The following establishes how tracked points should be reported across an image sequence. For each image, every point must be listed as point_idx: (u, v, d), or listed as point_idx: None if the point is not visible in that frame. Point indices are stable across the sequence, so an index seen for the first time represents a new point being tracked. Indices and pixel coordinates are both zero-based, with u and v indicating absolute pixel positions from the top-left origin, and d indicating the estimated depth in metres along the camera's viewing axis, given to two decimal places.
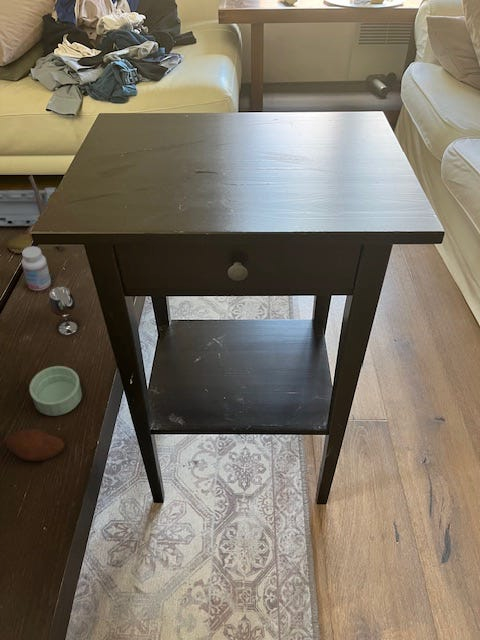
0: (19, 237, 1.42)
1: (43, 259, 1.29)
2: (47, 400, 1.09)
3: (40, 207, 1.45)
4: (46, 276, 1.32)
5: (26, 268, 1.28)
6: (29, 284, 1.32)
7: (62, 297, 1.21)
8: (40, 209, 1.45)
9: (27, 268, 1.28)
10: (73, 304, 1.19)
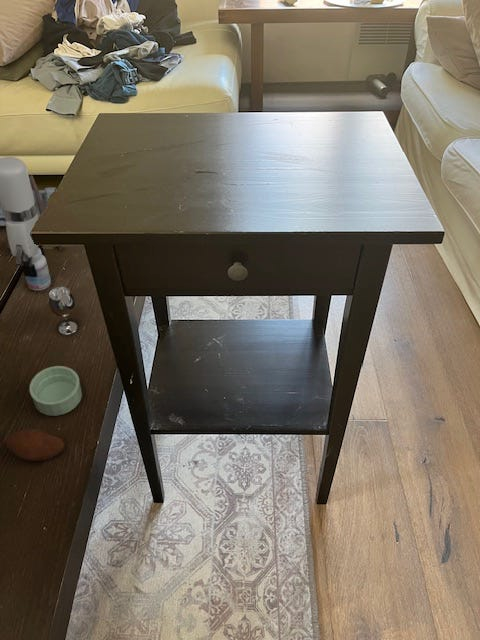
0: None
1: (43, 259, 1.29)
2: (47, 400, 1.09)
3: (40, 207, 1.45)
4: (46, 276, 1.32)
5: None
6: (29, 284, 1.32)
7: (62, 297, 1.21)
8: (40, 209, 1.45)
9: None
10: (73, 304, 1.19)
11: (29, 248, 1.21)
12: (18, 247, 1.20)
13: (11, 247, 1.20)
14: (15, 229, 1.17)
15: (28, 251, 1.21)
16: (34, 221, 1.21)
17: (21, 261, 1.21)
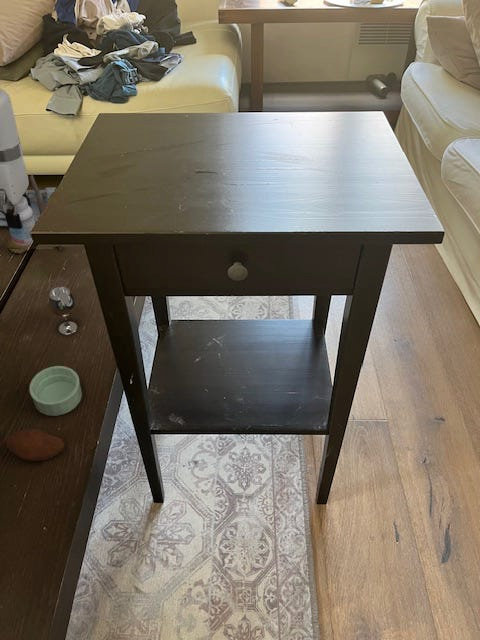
0: None
1: (29, 209, 1.18)
2: (47, 400, 1.09)
3: (40, 207, 1.45)
4: None
5: None
6: (14, 238, 1.21)
7: (62, 297, 1.21)
8: (40, 209, 1.45)
9: None
10: (73, 304, 1.19)
11: (13, 193, 1.10)
12: (1, 192, 1.09)
13: None
14: None
15: (12, 196, 1.10)
16: (19, 164, 1.10)
17: (4, 208, 1.09)
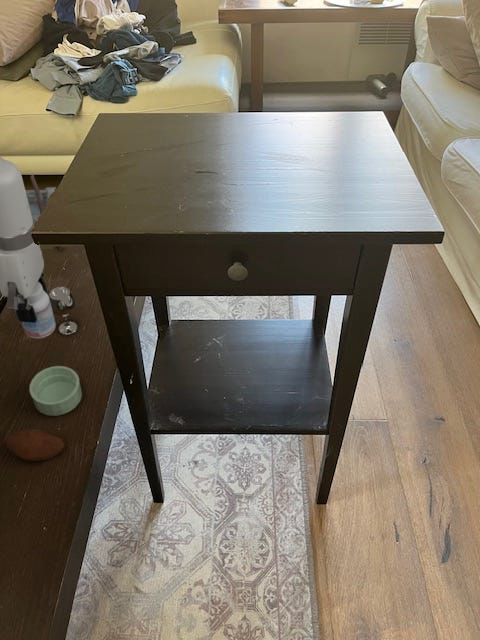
0: None
1: (45, 297, 0.95)
2: (47, 400, 1.09)
3: (41, 207, 1.45)
4: (49, 319, 0.97)
5: None
6: (26, 330, 0.98)
7: (62, 297, 1.21)
8: (41, 209, 1.45)
9: None
10: (73, 304, 1.19)
11: (26, 286, 0.87)
12: (10, 285, 0.86)
13: (0, 284, 0.86)
14: (5, 261, 0.82)
15: (24, 290, 0.87)
16: (32, 248, 0.87)
17: (14, 304, 0.86)
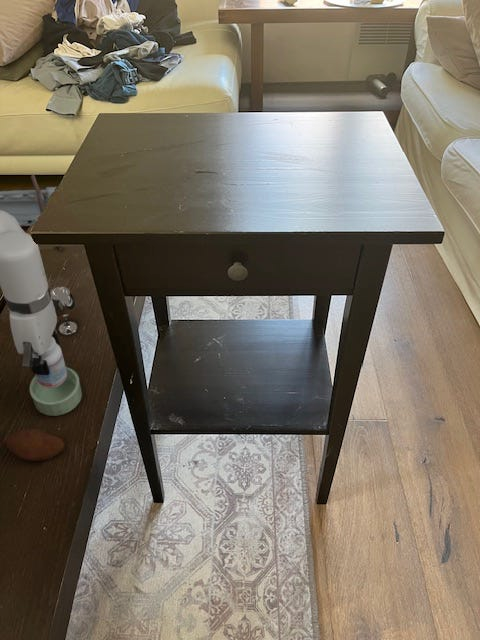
0: None
1: (58, 351, 0.99)
2: (47, 400, 1.09)
3: (41, 207, 1.45)
4: (61, 370, 1.02)
5: None
6: (39, 381, 1.02)
7: (62, 297, 1.21)
8: (41, 209, 1.45)
9: None
10: (73, 304, 1.19)
11: (40, 345, 0.91)
12: (26, 344, 0.90)
13: (16, 344, 0.90)
14: (21, 324, 0.87)
15: (39, 348, 0.91)
16: (47, 308, 0.92)
17: (30, 362, 0.91)
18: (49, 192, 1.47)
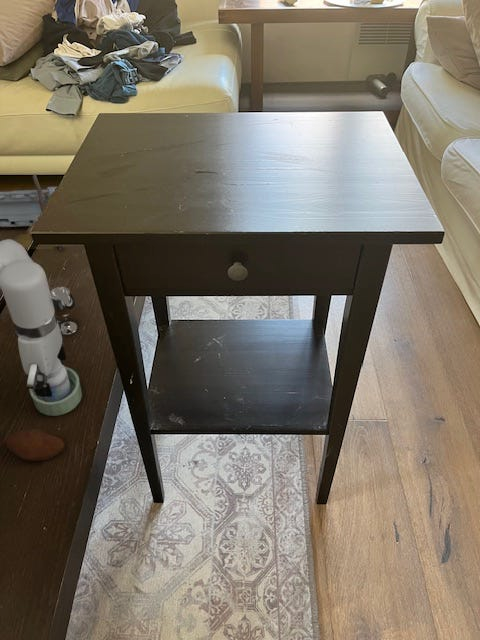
0: (19, 237, 1.42)
1: (63, 371, 1.04)
2: None
3: (42, 207, 1.45)
4: (66, 390, 1.07)
5: None
6: (45, 399, 1.07)
7: (62, 297, 1.21)
8: (42, 209, 1.45)
9: None
10: (73, 304, 1.19)
11: (47, 366, 0.96)
12: None
13: (23, 365, 0.95)
14: (29, 347, 0.91)
15: (46, 369, 0.96)
16: None
17: (34, 383, 0.94)
18: (50, 192, 1.47)
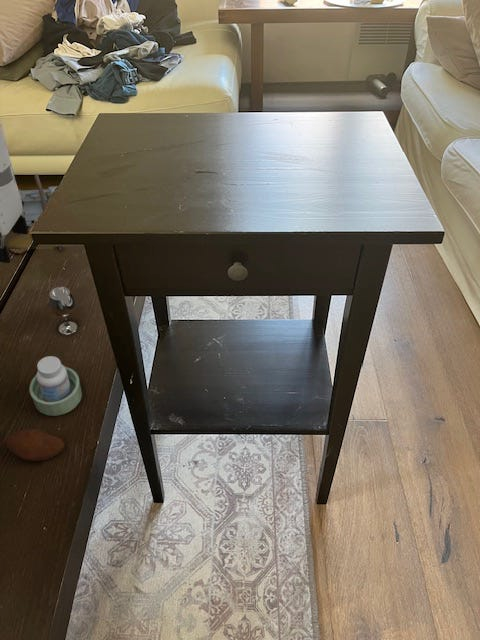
0: (19, 237, 1.42)
1: (63, 371, 1.04)
2: None
3: (43, 206, 1.45)
4: (66, 390, 1.07)
5: (42, 384, 1.03)
6: (45, 399, 1.07)
7: (62, 297, 1.21)
8: (43, 208, 1.45)
9: (44, 385, 1.03)
10: (73, 304, 1.19)
11: (3, 223, 0.94)
12: None
13: None
14: None
15: (2, 227, 0.94)
16: (10, 189, 0.94)
17: None
18: (52, 191, 1.47)
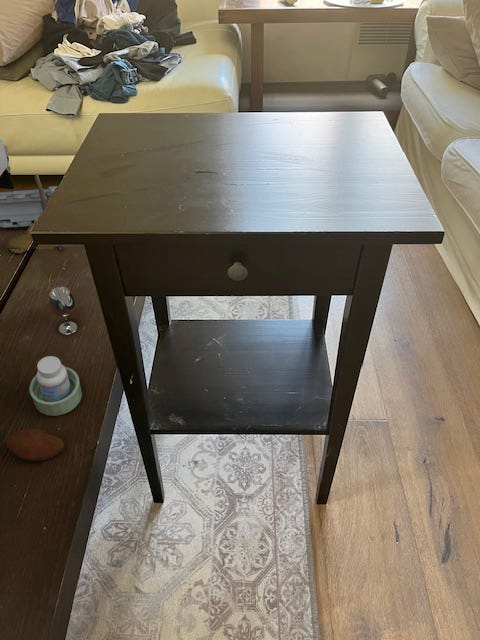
0: (19, 237, 1.42)
1: (63, 371, 1.04)
2: None
3: (44, 206, 1.45)
4: (66, 390, 1.07)
5: (42, 384, 1.03)
6: (45, 399, 1.07)
7: (62, 297, 1.21)
8: (43, 208, 1.45)
9: (44, 385, 1.03)
10: (73, 304, 1.19)
11: None
12: None
13: None
14: None
15: None
16: None
17: None
18: (52, 191, 1.47)
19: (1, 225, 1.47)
